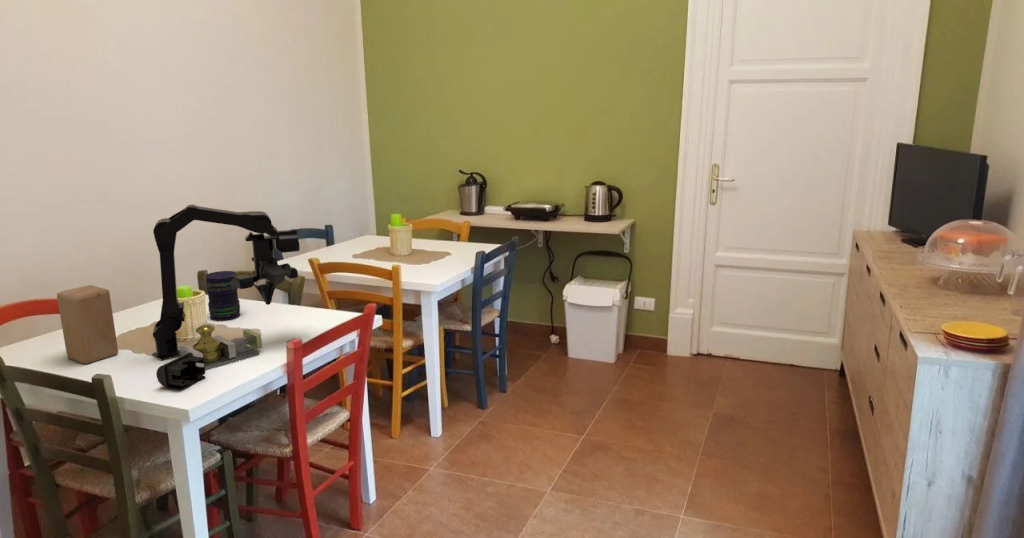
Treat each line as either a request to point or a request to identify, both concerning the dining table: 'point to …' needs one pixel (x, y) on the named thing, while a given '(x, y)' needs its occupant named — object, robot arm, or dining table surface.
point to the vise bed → (241, 354)
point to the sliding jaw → (239, 342)
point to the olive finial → (208, 344)
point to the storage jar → (222, 296)
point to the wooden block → (87, 323)
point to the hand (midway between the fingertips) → (268, 304)
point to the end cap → (181, 372)
